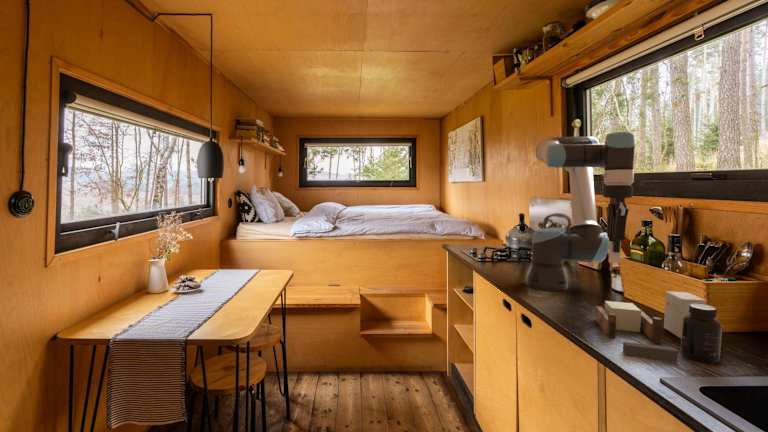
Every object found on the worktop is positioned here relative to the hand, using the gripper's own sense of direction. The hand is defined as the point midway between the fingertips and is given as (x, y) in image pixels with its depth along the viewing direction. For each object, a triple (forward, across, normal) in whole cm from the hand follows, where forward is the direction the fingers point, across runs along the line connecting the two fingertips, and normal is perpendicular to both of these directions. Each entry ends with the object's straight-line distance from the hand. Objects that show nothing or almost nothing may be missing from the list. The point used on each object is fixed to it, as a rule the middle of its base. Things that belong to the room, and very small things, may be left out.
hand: (614, 262), depth 112 cm
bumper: (+16, +30, 0) cm, 34 cm away
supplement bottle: (+17, +27, +11) cm, 33 cm away
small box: (+17, +11, +14) cm, 24 cm away
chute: (+16, +13, 0) cm, 21 cm away
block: (+17, +10, 0) cm, 19 cm away
